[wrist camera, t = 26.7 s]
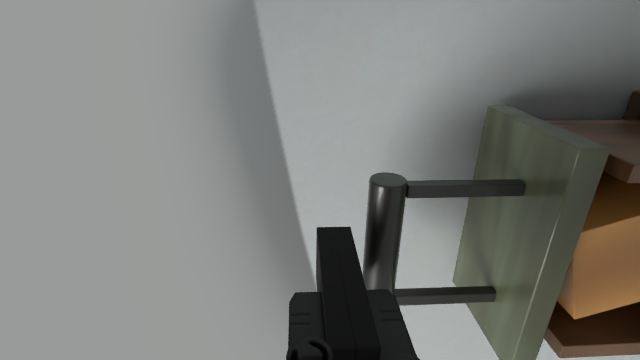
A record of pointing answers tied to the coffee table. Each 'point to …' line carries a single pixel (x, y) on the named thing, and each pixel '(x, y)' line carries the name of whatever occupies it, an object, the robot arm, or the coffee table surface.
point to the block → (606, 252)
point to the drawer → (518, 232)
